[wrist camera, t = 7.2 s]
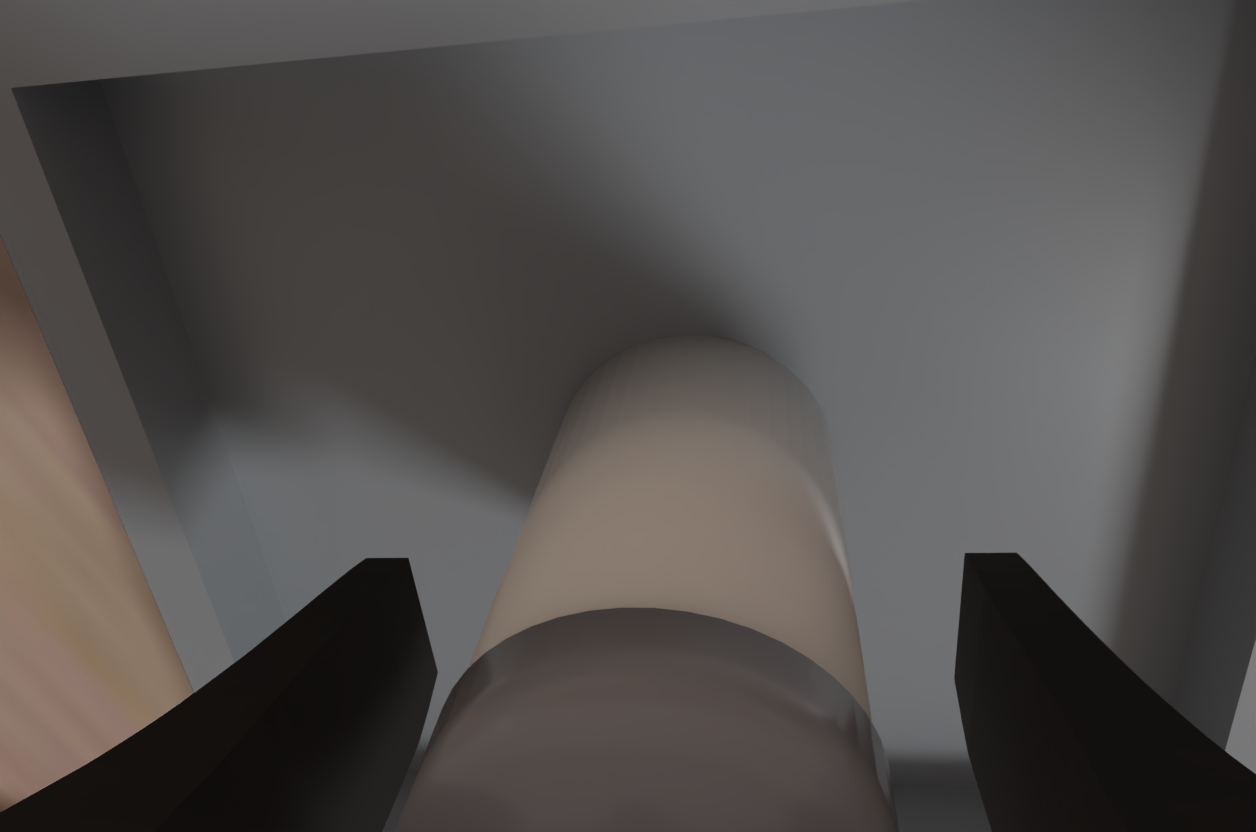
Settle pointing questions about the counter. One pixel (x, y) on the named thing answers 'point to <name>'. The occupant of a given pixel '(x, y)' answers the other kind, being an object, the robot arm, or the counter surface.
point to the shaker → (670, 623)
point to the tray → (661, 298)
